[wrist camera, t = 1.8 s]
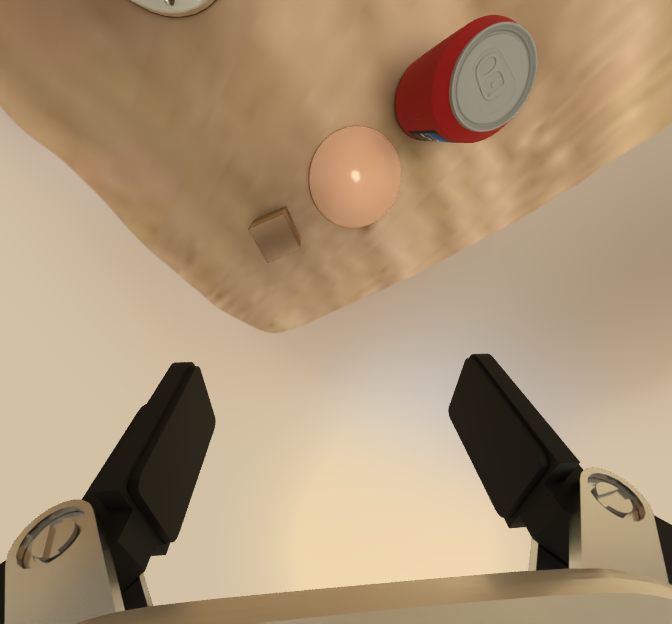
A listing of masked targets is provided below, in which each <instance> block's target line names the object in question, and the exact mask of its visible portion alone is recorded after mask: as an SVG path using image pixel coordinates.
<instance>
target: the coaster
mask: <svg viewBox="0 0 672 624" xmlns="http://www.w3.org/2000/svg"><path fill="white" fill-rule="evenodd" d="M400 183H401V166H400V161H399V158H398V155H397V153H396V151H395V149H394V147H393V145H392V144H391V142H390V141H389V140H388V139H387V138H386V137H385V136H383V135H382V134H381V133H379V132H378V131H376V130H374V129H371V128H368V127H363V126H352V127H347V128H343V129H341V130H338V131H336V132H335V133H333V134H331V135H330V136H329V137H328V138H326V139H325V140H324V142H323V143H322V144H321V145H320V147H319V148H318V149H317V151H316V153H315V155H314V157H313V160H312V163H311V167H310V174H309V184H310V190H311V194H312V197H313V200H314V202H315V204H316V206H317V208H318V209H319V210H320V212H321V213H322V214H323V215H324V216H325V217H326V218H327V219H328V220H330V221H332V222H333V223H335V224H337V225H340V226H343V227H349V228H356V227H363V226H366V225H369V224H371V223H373V222H375V221H377V220H378V219H380V218H381V217H382V216H383V215H384V214H385V213H386V212H387V211H388V210H389V209H390V207H391V206H392V205H393V203H394V201H395V199H396V197H397V194H398V192H399V188H400Z"/></svg>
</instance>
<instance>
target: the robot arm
mask: <svg viewBox="0 0 672 624" xmlns="http://www.w3.org/2000/svg"><path fill="white" fill-rule="evenodd" d="M130 1H132V2H133V3H135V4H137V5H139V6H141V7H143V8H145V9H146V10H148V11H151V12H154V13H157V14H161V15H164V16H174V17H183V16H188V15H192V14H196V13H198V12H200V11H201V10H203V9H205V8H207V7H208V6H209V5H210V4H212V3H213V2H214V1H215V0H175V3H174V5H173V6H171V4H170V1H171V0H130ZM449 416H450V419H451V421H452V423H453V425H454V427H455V429H456V431H457V433H458V435H459V437H460V439H461V441H462V443H463V445H464V447H465V449H466V451H467V453H468V455H469V457H470V459H471V461H472V463H473V465H474V467H475V469H476V471H477V473H478V475H479V477H480V479H481V481H482V483H483V485H484V487H485V489H486V492H487V494H488V496H489V498H490V500H491V502H492V504H493V506H494V507H495V510H496V511H497V513H498V514H499V515H500V516H501V517H503V518H504V519H505V521H506V523H507V525H508V527H509V528H518V527H527V529H528V531H529V533H530V535H531V536H532V542H531V551H530V561H529V571H522V572H509V573H498V574H485V575H474V576H462V577H450V578H438V579H427V580H415V581H405V582H394V583H382V584H370V585H359V586H349V587H337V588H326V589H315V590H304V591H295V592H283V593H273V594H262V595H252V596H241V597H232V598H220V599H211V600H202V601H193V602H185V603H176V604H168V605H158V606H153V604H152V601H151V597H150V594H149V591H148V587H147V584H146V581H145V577H144V574H143V572H144V571H145V569H146V567H147V564H148V562H149V559H150V557H151V556H157V555H166V553H167V550H168V547H169V544H170V542H174V541H175V540H176V539H177V537H178V534H179V531H180V529H181V525H182V523H183V520H184V517H185V514H186V511H187V508H188V505H189V502H190V499H191V496H192V493H193V490H194V487H195V485H196V481H197V479H198V475H199V473H200V470H201V467H202V464H203V461H204V458H205V455H206V452H207V449H208V446H209V443H210V440H211V437H212V434H213V431H214V428H215V416H214V412H213V409H212V406H211V403H210V399H209V396H208V393H207V390H206V386H205V383H204V380H203V377H202V374H201V370H200V368H199V367H198V366H195V365H194V364H193V363H192V362H181V363H173V364H172V365H171V366H170V368H169V369H168V371H167V372H166V374H165V376H164V377H163V379H162V380H161V382H160V384H159V385H158V387H157V388H156V390H155V392H154V394H153V395H152V396H151V398H150V400H149V401H148V403H147V404H145V405H144V406H142V407H141V409H140V410H139V411H138V412H137V414H136V416H135V417H134V419H133V420H132V422H131V423H130V425H129V427H128V428H127V430H126V431H125V433H124V434H123V436H122V437H121V439H120V441H119V442H118V444H117V445H116V447H115V449H114V450H113V452H112V453H111V455H110V456H109V458H108V459H107V461H106V462H105V464H104V466H103V467H102V469H101V470H100V472H99V473H98V475H97V477H96V478H95V480H94V481H93V483H92V484H91V486H90V487H89V489H88V491H87V492H86V494H85V495H84V497H83V498H82V500H70V501H67V502H63V503H60V504H58V505H56V506H54V507H52V508H50V509H48V510H47V511H45V512H44V513H43V514H41V515H40V516H38V517H37V518H36V519H35V520H34V521H33V522H31V523H30V524H29V525H28V526H27V527H26V528H25V529H24V530H23V531H22V533H21V534H20V535H19V536H18V537H17V539H16V540H15V541H14V543H13V545H12V547H11V549H10V550H9V552H8V555H7V559H6V561H4V562H3V563H1V564H0V624H672V525H671V524H669V523H667V522H665V521H663V520H661V519H660V518H658V517H656V516H654V514H653V512H652V509H651V507H650V505H649V504H648V502H647V501H646V500H645V498H644V497H643V496H642V495H641V494H640V493H639V492H638V491H637V490H636V489H635V488H634V487H633V486H632V485H631V484H629V483H628V482H627V481H625V480H624V479H622V478H621V477H619V476H617V475H615V474H614V473H611V472H609V471H606V470H603V469H599V468H587V469H585V470H583V469H582V468H581V467H580V465H579V463H580V462H579V460H578V459H577V458H576V457H575V456H574V455H573V453H572V452H571V451H570V449H569V448H568V447H567V446H566V445H565V443H564V442H563V441H562V440H561V439H560V437H559V436H558V435H557V434H556V433H555V431H554V430H553V429H552V428H551V427H550V425H549V424H548V423H547V422H546V421H545V419H544V418H543V417H542V416H541V415H540V414H539V412H538V411H537V410H536V409H535V407H534V406H533V405H532V404H531V403H530V401H529V400H528V399H527V398H526V396H525V395H524V394H523V393H522V392H521V390H520V389H519V388H518V387H517V386H516V385H515V383H514V382H513V381H512V380H511V379H510V377H509V376H508V375H507V374H506V372H505V371H504V370H503V369H502V368H501V366H500V365H499V364H498V363H497V362H496V360H495V359H494V358H493V357H492V356H491V355H490V354H472V355H471V356H470V357H469V358H467V359H466V360H465V363H464V365H463V368H462V371H461V374H460V377H459V380H458V383H457V385H456V388H455V391H454V394H453V397H452V400H451V403H450V406H449Z"/></svg>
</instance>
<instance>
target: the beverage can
mask: <svg viewBox="0 0 672 624" xmlns="http://www.w3.org/2000/svg"><path fill="white" fill-rule="evenodd" d="M537 63H538V59H537V50H536V45H535V42H534V40H533V38H532V36H531V35H530V33H529V32H528V31H527V30H526V29H525V28H524V27H523V26H521V25H519V24H517V23H516V22H515V21H513V20H511V19H509V18H507V17H504V16H499V15H489V16H484V17H481V18H478V19H476V20H474V21H472V22H470V23H469V24H467V25H466V26H464V27H463V28H461V29H460V30H458V31H457V32H455V33H454V34H452V35H451V36H449V37H448V38H446V39H445V40H444V41H442V42H441V43H439V44H438V45H436V46H435V47H434V48H432V49H431V50H429V51H428V52H427V53H425V54H424V55H423V56H421V57H420V58H419V59H417V60H416V61H415V62H414V63H412V64H411V65H410V67H409V68H408V69H407V70H406V72H405V73H404V75H403V77H402V79H401V81H400V83H399V86H398V89H397V94H396V103H395V106H396V114H397V118H398V121H399V123H400V125H401V127H402V129H403V130H404V131H405V132H406V133H407V134H408V135H409V136H411V137H412V138H414V139H417V140H424V141H435V142H451V143H474V142H478V141H482V140H484V139H486V138H488V137H490V136H492V135H493V134H495V133H496V132H498V131H499V130H500V129H501V128H502V127H504V126H505V125H506V124H507V123H508V121H509V120H511V119H512V118H513V117H514V116H515V115H516V114H517V113H518V111H519V110H520V109H521V108H522V106H523V105H524V103H525V102H526V100H527V98H528V96H529V94H530V92H531V90H532V87H533V85H534V81H535V77H536V73H537Z"/></svg>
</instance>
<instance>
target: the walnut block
mask: <svg viewBox="0 0 672 624" xmlns="http://www.w3.org/2000/svg"><path fill="white" fill-rule="evenodd" d="M248 230H249V231H250V233H251V235H252V237H253V238H254V240H255V242H256V244H257V245H258V247H259V249H260V251H261V253H262V254H263V256H264V258H265V260H266V261H267V263H268V262H270V261H273V260H275V259H278V258H280V257H282V256H285V255H287V254H290V253H292V252H295V251H297V250H299V249H300V244H301V237H300V235H299V233H298V231H297V228H296V226H295V224H294V222H293V220H292V218H291V216H290V213H289V211H288V209H287V207H286V206H285V207H283V208H280V209H278V210H276V211H274V212H271V213H269V214H267V215H264V216H262V217H260V218H257V219H255V220H254V221H253V223H252V225H251V226H250V228H249V229H248Z"/></svg>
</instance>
